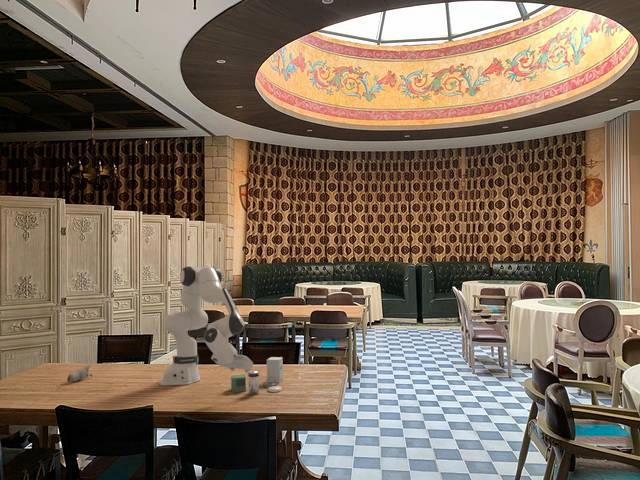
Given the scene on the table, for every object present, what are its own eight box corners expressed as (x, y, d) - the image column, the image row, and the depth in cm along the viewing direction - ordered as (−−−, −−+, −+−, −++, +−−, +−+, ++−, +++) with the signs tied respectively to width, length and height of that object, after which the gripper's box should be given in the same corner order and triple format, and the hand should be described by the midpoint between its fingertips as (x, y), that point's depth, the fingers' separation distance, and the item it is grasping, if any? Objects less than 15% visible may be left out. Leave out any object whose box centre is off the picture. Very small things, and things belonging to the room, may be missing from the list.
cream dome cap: (269, 392, 257) (269, 390, 257) (267, 389, 264) (267, 386, 264) (282, 391, 259) (282, 389, 259) (280, 388, 265) (280, 385, 265)
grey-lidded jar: (249, 395, 253) (248, 373, 254) (248, 392, 258) (247, 370, 259) (259, 394, 255) (259, 372, 255) (258, 391, 260) (258, 370, 260)
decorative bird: (64, 384, 284) (64, 371, 284) (86, 377, 299) (86, 364, 299) (72, 385, 282) (71, 371, 282) (93, 378, 297) (93, 365, 297)
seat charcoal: (264, 388, 265) (264, 386, 265) (262, 384, 272) (262, 382, 272) (277, 387, 267) (277, 384, 267) (275, 383, 274) (275, 381, 274)
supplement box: (279, 383, 275) (279, 359, 275) (266, 382, 276) (266, 359, 277) (283, 379, 282) (283, 357, 282) (270, 379, 284) (270, 356, 284)
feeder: (232, 392, 259) (231, 378, 259) (231, 389, 266) (230, 375, 266) (245, 391, 261) (245, 377, 261) (244, 387, 267) (244, 374, 267)
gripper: (247, 350, 237) (260, 367, 245) (214, 347, 248) (228, 363, 256) (241, 362, 233) (255, 378, 241) (208, 358, 244) (222, 373, 252)
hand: (241, 370), depth 249 cm, fingers open, 8 cm apart
